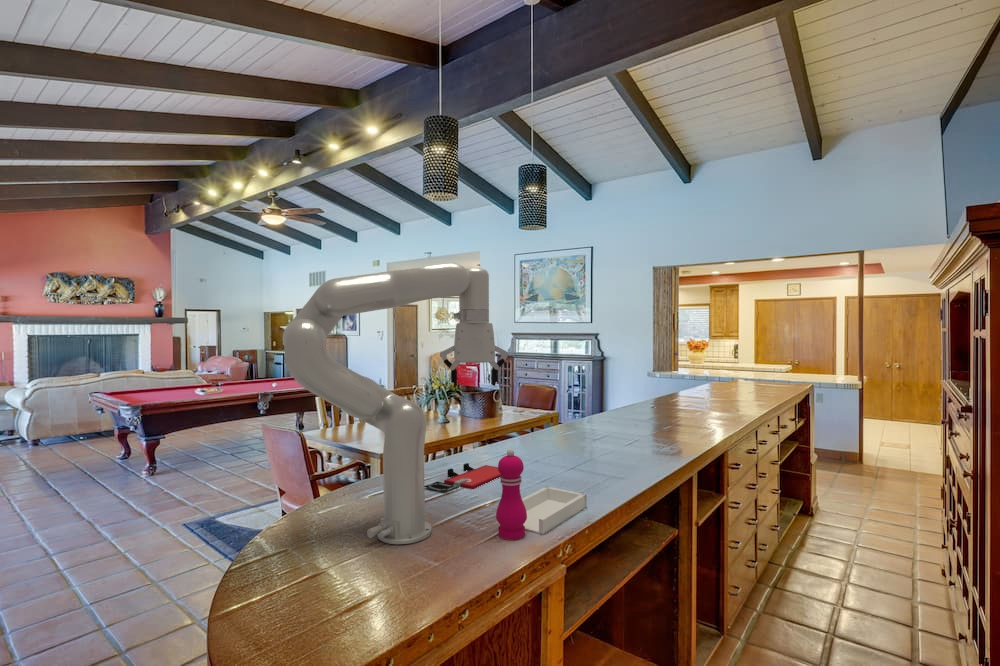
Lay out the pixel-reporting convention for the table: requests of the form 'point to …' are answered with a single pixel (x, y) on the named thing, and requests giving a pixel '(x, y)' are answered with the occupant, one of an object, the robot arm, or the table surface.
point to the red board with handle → (467, 478)
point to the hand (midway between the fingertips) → (474, 385)
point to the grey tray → (551, 508)
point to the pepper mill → (511, 498)
